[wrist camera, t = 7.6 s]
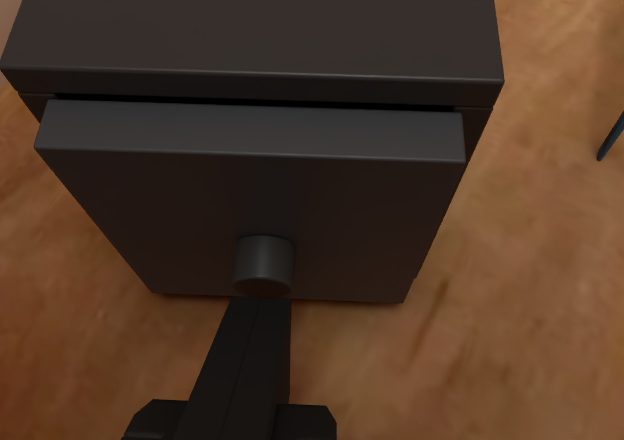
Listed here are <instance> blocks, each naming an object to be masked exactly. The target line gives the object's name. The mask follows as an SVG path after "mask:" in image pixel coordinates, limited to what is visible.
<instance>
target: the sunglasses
mask: <svg viewBox="0 0 624 440" xmlns="http://www.w3.org/2000/svg"><path fill="white" fill-rule="evenodd" d="M623 129H624V111H623V113H622V114H621V116H620V117H619V119H618V120H617V122H616V124H615V125H614V127H613V128H612V130H611V131H610V133H609V134H608V136H607V138H606V139H605V141H604V142H603V144H602V145H601V147H600V149H599V151H598V159H599V160H602V158H603V157H604V156H605V155H606V153H607V152H608V150H609V149H610V148H611V146H612V145H613V143H614V142H615V141H616V139H617V138H618V136H619V135H620V134H621V132H622V131H623Z"/></svg>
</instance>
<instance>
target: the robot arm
mask: <svg viewBox="0 0 624 440" xmlns="http://www.w3.org/2000/svg"><path fill="white" fill-rule="evenodd" d="M290 337H291V299H278V298H255V297H231V300H230V302H229V304H228V307H227V309H226V312H225V314H224V316H223V319H222V321H221V324H220V326H219V328H218V331H217V333H216V336H215V338H214V340H213V343H212V345H211V348H210V350H209V352H208V355H207V357H206V360H205V362H204V364H203V367H202V369H201V372H200V374H199V376H198V379H197V381H196V383H195V386H194V388H193V391H192V393H191V395H190V398H189V400H188V401H180V400H159V399H153V400H152V401H151V402H149V403H148V404H147V405H146V406H144V407H143V408H142V409H141V410H140V411H138V412H137V413H136V414H135V415H134V417H133V418H132V420H131V422H130V424H129V426H128V427H127V429H126V431H125V433H124V437H122V438H121V440H337V423H336V421H335V419H334V418H333V416H332V414H331V413H330V411H329V410H328V408H327V406H319V405H298V404H288V401H289V394H290Z"/></svg>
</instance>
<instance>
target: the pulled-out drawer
mask: <svg viewBox="0 0 624 440" xmlns="http://www.w3.org/2000/svg"><path fill="white" fill-rule="evenodd" d="M119 97H120V99H121V101H122V102H121V101H90V100H59V99H49V100H48V101H47V104H46V107H45V110H44V114H43V117H42V120H41V123H40V126H39V130H38V133H37V136H36V139H35V143H34V149H35V150H36V151H37V153H38V154H39V155H40V156H41V158H42V159H43V160H44V161H45V162H46V164H47V165H48V166H49V167H50V169H51V170H52V171H53V172H54V173H55V175H56V176H57V177H58V178H59V180H60V181H61V182H62V183H63V185H64V186H65V187H66V188H67V189H68V191H69V192H70V193H71V194H72V196H73V197H74V198H75V199H76V200H77V202H78V203H79V204H80V205H81V207H82V208H83V209H84V210H85V211H86V213H87V214H88V215H89V216H90V218H91V219H92V220H93V221H94V222H95V224H96V225H97V226H98V227H99V229H100V230H101V231H102V232H103V234H104V235H105V236H106V237H107V238H108V240H109V241H110V242H111V243H112V245H113V246H114V247H115V248H116V249H117V251H118V252H119V253H120V254H121V256H122V257H123V258H124V259H125V260H126V262H127V263H128V264H129V265H130V267H131V268H132V269H133V270H134V272H135V273H136V274H137V275H138V276H139V278H140V279H141V280H142V281H143V283H144V284H145V285H146V286H147V287H148V289H149V290H150V291H151V292H152V293H170V294H194V295H218V296H242V297H255V298H289V299H313V300H337V301H361V302H385V303H403V302H404V300H405V298H406V295H407V293H408V291H409V289H410V286H411V284H412V282H413V280H414V277H415V275H416V273H417V271H418V268H419V266H420V264H421V262H422V260H423V257H424V255H425V253H426V251H427V248H428V246H429V244H430V242H431V239H432V237H433V235H434V233H435V230H436V228H437V226H438V224H439V221H440V219H441V217H442V215H443V212H444V210H445V208H446V206H447V203H448V201H449V199H450V197H451V194H452V192H453V190H454V188H455V185H456V183H457V181H458V179H459V176H460V174H461V172H462V170H463V167H464V165H465V163H466V155H465V143H464V131H463V120H462V114H461V113H459V112H430V111H411V110H412V106H413V105H412V104H381V103H350V102H319V101H287V100H256V99H225V98H194V97H162V96H131V95H119Z"/></svg>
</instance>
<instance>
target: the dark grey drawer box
mask: <svg viewBox="0 0 624 440" xmlns="http://www.w3.org/2000/svg"><path fill="white" fill-rule="evenodd" d="M0 70H1V72H2V73H3V74H4V76H5V77H6V78H7V80H8V81H9V82H10V84H11V85H12V86H13V88H14V89H15V90H16V91H18V95H19V96H20V98H21V99H22V100H23V102H24V103H25V104H26V106H27V107H28V108H29V110H30V111H31V113H32V114H33V115H34V117H35V118H36V119H37V121H38V122H39V123H41V120H42V117H43V114H44V110H45V107H46V104H47V101H48V100H49V99H59V100H90V101H121V99H120V97H119V95H131V96H162V97H194V98H225V99H256V100H287V101H319V102H350V103H381V104H412V105H413V106H412V110H411V111H430V112H459V113H461V114H462V120H463V131H464V143H465V155H466V163H465V165H464V167H463V170H462V172H461V174H460V176H459V179H458V181H457V183H456V185H455V188H454V190H453V192H452V194H451V197H450V199H449V201H448V203H447V206H446V208H445V210H444V212H443V215H442V217H441V219H440V221H439V224H438V226H437V228H436V230H435V233H434V235H433V237H432V239H431V242H430V244H429V246H428V248H427V251H426V253H425V255H424V257H423V260H422V262H421V264H420V266H419V268H418V271H417V273H416V275H415V277H414V278H416V277H417V274H418V272H419V271H420V269H421V267H422V264H423V262H424V260H425V258H426V256H427V253H428V251H429V249H430V247H431V245H432V242H433V240H434V238H435V236H436V234H437V231H438V229H439V227H440V225H441V223H442V220H443V218H444V216H445V214H446V212H447V209H448V207H449V205H450V203H451V201H452V198H453V196H454V194H455V192H456V190H457V187H458V185H459V183H460V181H461V179H462V176H463V174H464V172H465V170H466V168H467V165H468V163H469V161H470V159H471V157H472V154H473V152H474V150H475V148H476V146H477V143H478V141H479V139H480V137H481V135H482V132H483V130H484V128H485V126H486V124H487V121H488V119H489V117H490V115H491V113H492V110H493V106H494V105H495V102H496V100H497V98H498V96H499V94H500V91H501V89H502V87H503V85H504V82H505V80H504V72H503V64H502V57H501V49H500V41H499V34H498V26H497V18H496V11H495V3H494V0H22V2H21V5H20V8H19V10H18V13H17V16H16V19H15V21H14V24H13V27H12V29H11V32H10V35H9V37H8V40H7V43H6V45H5V48H4V51H3V54H2V56H1V59H0ZM121 102H122V101H121Z"/></svg>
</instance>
